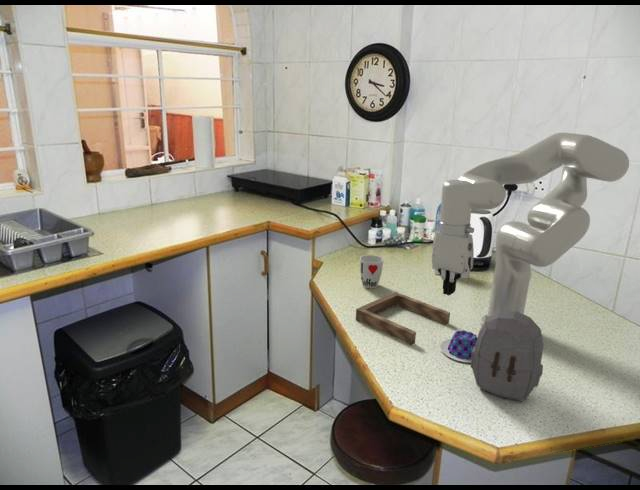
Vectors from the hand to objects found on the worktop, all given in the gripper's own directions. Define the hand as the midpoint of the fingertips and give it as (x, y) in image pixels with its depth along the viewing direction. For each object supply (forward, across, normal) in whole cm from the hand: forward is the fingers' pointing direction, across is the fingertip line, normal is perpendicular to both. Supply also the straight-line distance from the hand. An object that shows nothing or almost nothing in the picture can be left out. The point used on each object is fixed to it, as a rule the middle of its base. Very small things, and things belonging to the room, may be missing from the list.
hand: (448, 293), depth 126 cm
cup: (+13, +38, -13) cm, 42 cm away
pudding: (+14, -7, +3) cm, 16 cm away
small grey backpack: (+13, -22, +13) cm, 29 cm away
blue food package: (+15, +40, -64) cm, 77 cm away
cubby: (+13, +14, +1) cm, 19 cm away
